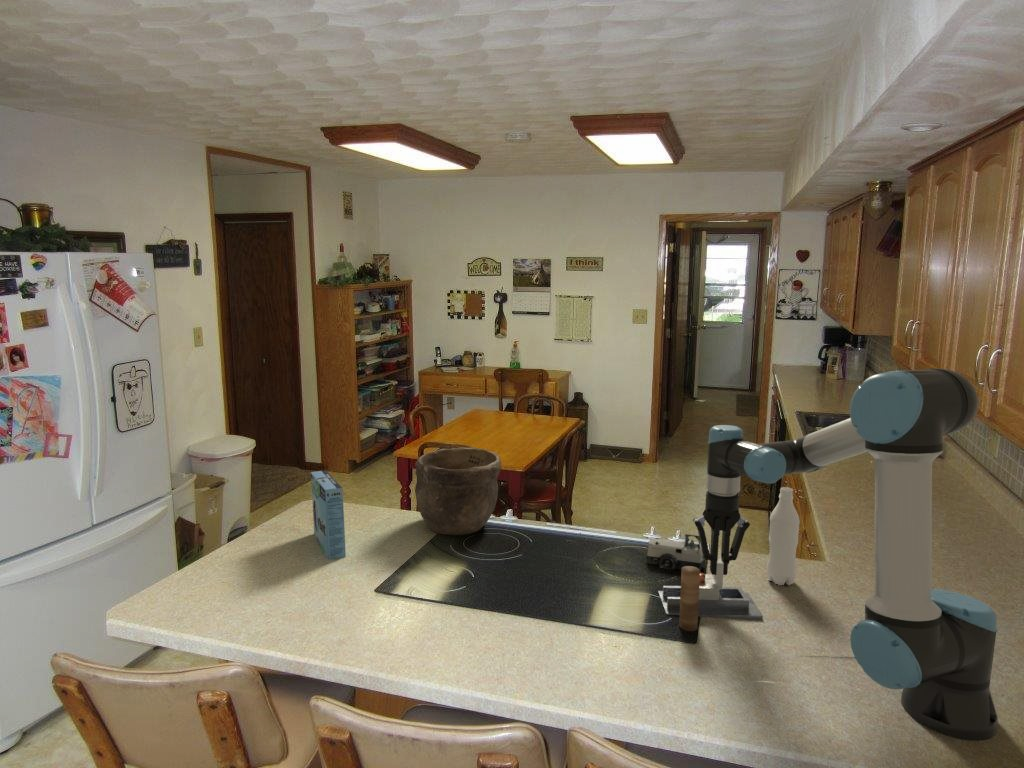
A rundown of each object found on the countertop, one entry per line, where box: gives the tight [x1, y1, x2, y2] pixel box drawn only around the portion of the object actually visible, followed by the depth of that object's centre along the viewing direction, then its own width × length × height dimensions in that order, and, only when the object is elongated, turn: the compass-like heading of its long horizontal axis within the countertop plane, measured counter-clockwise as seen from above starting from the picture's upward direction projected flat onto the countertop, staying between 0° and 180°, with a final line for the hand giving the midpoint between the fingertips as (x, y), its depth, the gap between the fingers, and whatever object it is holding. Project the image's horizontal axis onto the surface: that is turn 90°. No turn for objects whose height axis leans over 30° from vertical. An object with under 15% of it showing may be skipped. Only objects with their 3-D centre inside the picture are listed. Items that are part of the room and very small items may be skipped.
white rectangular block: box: [699, 572, 719, 600], centre depth 168 cm, size 8×7×4 cm
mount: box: [658, 585, 764, 621], centre depth 169 cm, size 12×22×4 cm, turn 88°
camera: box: [645, 532, 705, 572], centre depth 190 cm, size 15×8×10 cm, turn 67°
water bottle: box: [766, 486, 801, 586], centre depth 181 cm, size 7×7×25 cm
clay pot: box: [414, 447, 502, 536], centre depth 212 cm, size 26×26×25 cm
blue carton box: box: [310, 470, 347, 560], centre depth 195 cm, size 20×5×23 cm, turn 26°
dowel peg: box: [678, 566, 701, 632], centre depth 157 cm, size 4×4×14 cm
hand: (717, 586), depth 168 cm, fingers closed
